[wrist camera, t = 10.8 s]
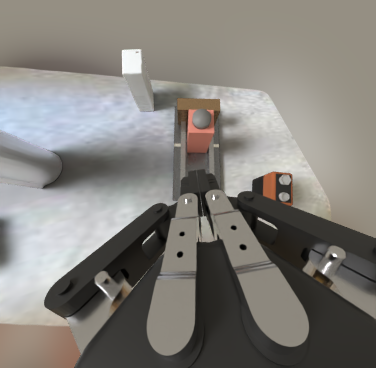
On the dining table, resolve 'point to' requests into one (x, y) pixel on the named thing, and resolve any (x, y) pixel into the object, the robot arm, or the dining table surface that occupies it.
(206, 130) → the pink dome-topped pillar
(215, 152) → the rail
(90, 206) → the dining table surface
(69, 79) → the dining table surface
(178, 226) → the robot arm
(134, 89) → the skincare box
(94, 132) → the dining table surface
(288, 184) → the battery
